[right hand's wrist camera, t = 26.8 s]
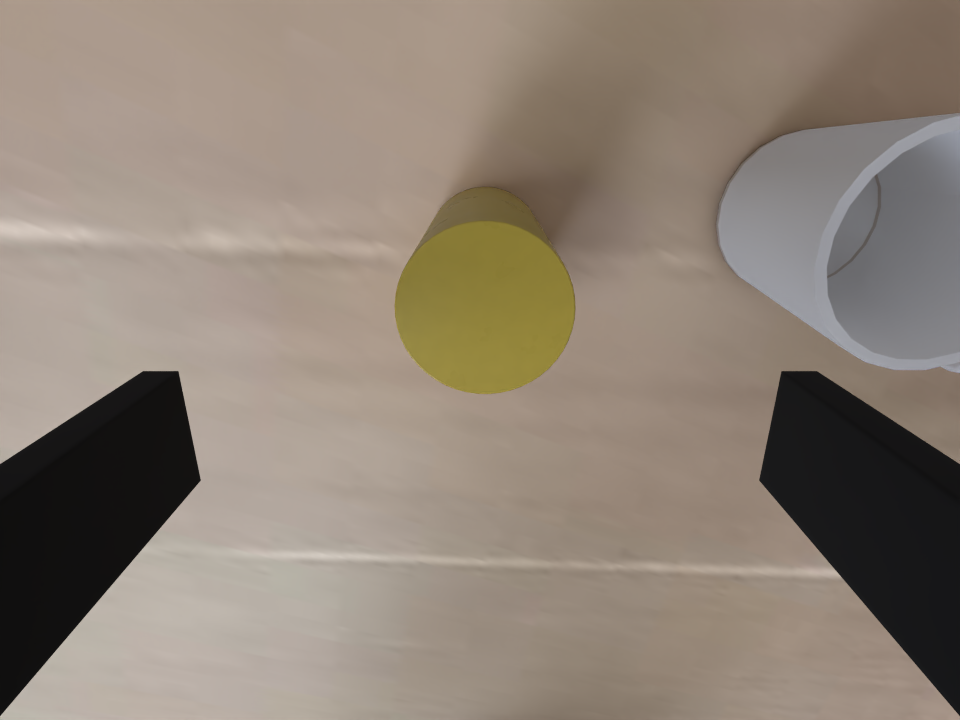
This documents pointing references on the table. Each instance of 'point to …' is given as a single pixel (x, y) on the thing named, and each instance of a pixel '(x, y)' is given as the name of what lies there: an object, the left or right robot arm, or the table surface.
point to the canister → (485, 295)
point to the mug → (856, 235)
